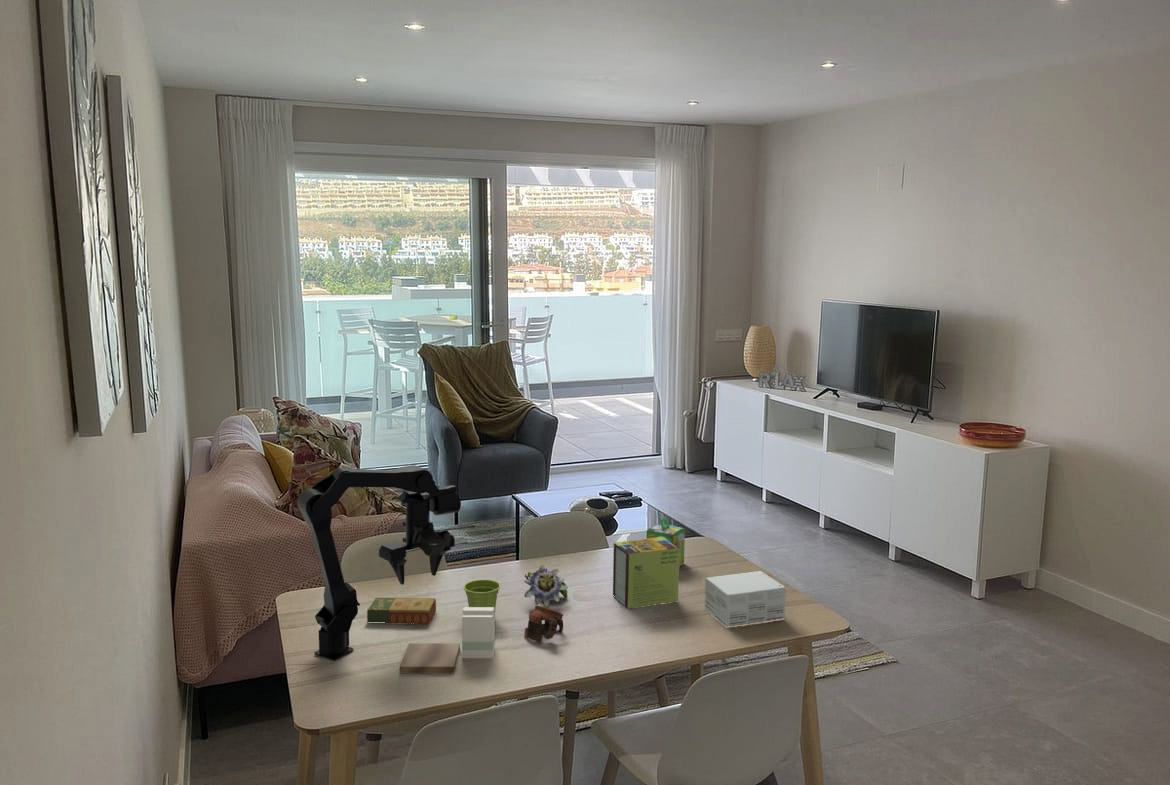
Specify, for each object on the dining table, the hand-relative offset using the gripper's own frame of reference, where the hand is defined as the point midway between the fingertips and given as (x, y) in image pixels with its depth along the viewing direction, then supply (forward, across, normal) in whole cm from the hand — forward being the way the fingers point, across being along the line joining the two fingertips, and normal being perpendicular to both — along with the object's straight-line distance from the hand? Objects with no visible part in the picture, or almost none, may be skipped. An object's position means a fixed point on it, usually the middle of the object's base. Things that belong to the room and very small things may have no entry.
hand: (418, 579), depth 212 cm
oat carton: (+13, +4, -19) cm, 24 cm away
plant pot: (+14, +17, -4) cm, 22 cm away
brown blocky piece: (+14, +21, -23) cm, 34 cm away
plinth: (+14, -7, -15) cm, 21 cm away
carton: (+14, +2, +10) cm, 18 cm away
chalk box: (+13, +82, -11) cm, 84 cm away
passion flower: (+13, +36, -7) cm, 39 cm away
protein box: (+13, +57, -25) cm, 64 cm away
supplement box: (+13, +68, -50) cm, 85 cm away
